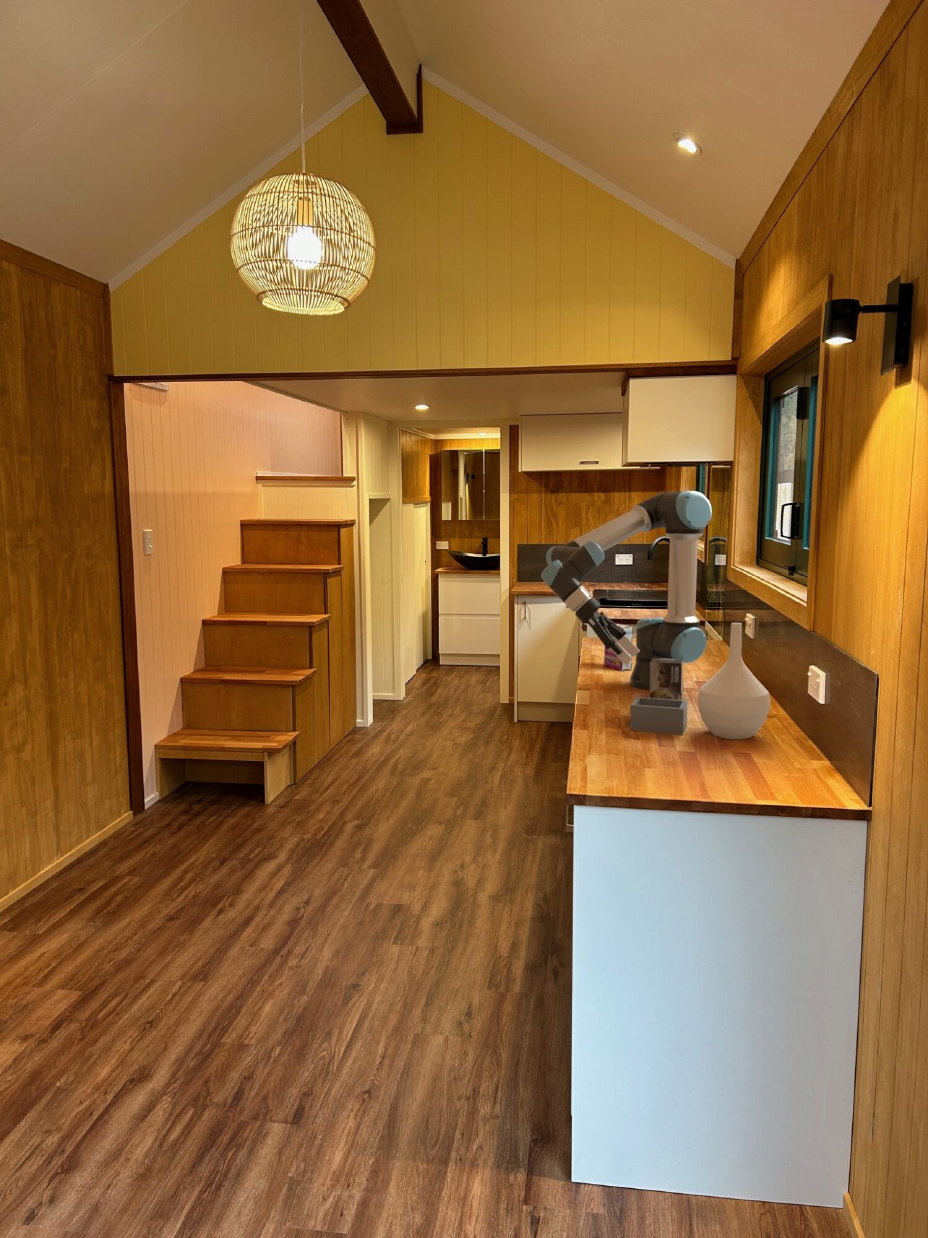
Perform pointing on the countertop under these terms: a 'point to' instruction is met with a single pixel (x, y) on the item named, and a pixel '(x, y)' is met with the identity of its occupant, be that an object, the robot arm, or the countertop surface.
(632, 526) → the robot arm
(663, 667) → the coffee box
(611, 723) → the countertop surface
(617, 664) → the candy bar box
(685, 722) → the rectangular open box
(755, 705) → the vase
